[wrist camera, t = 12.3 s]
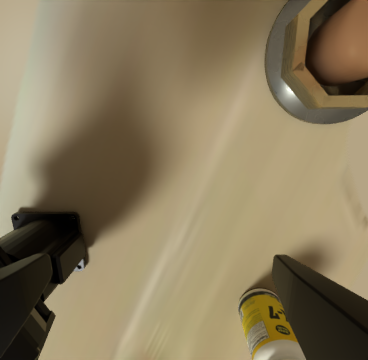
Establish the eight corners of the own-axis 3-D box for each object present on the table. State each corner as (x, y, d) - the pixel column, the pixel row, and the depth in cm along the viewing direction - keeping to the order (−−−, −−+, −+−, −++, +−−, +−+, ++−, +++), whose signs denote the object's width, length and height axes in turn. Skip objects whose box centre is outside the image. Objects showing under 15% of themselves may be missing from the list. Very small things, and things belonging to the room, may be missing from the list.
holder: (259, 124, 18) (270, 124, 16) (271, -26, 16) (287, -55, 13) (384, 123, 18) (416, 122, 16) (418, -29, 16) (463, -59, 13)
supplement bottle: (288, 301, 23) (344, 396, 15) (260, 328, 24) (298, 431, 16) (256, 279, 22) (296, 365, 14) (228, 307, 23) (250, 403, 15)
